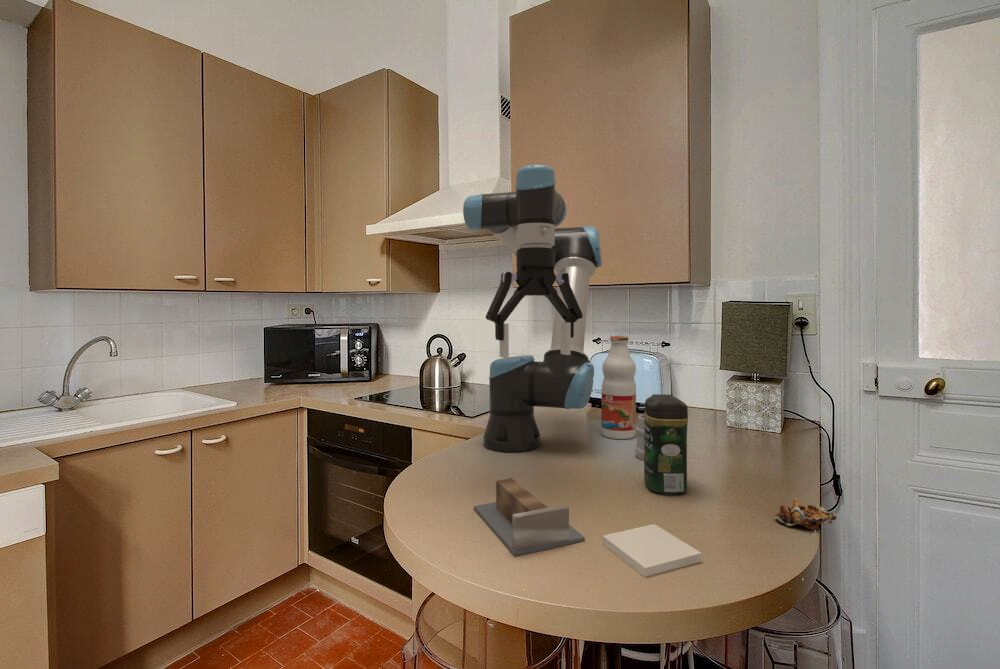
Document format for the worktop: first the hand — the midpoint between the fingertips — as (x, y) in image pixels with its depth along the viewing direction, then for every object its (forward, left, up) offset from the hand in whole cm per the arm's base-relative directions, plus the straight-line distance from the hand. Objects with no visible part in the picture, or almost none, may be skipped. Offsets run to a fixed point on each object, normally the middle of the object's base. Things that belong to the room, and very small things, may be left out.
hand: (535, 356), depth 97 cm
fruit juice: (-26, +39, -27) cm, 54 cm away
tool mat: (+14, -9, -27) cm, 31 cm away
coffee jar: (+10, +24, -27) cm, 37 cm away
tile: (+25, +4, -26) cm, 36 cm away
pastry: (+31, +36, -27) cm, 55 cm away
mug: (-5, +33, -27) cm, 43 cm away
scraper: (+14, -10, -26) cm, 31 cm away
